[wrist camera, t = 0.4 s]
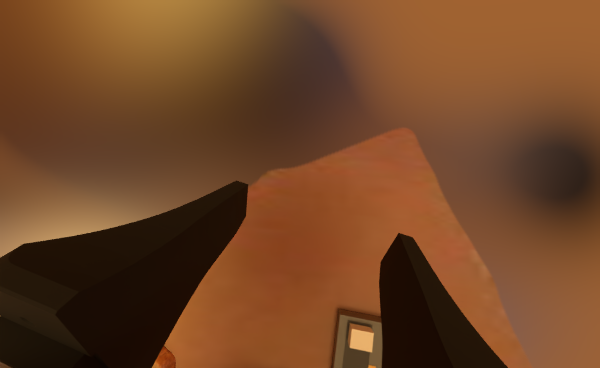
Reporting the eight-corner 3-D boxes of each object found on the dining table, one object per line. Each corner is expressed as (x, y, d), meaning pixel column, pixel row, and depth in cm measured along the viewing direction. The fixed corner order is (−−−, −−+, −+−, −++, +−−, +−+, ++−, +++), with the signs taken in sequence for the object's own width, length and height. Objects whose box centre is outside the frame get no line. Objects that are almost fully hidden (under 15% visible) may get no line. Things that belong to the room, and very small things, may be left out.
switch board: (418, 391, 34) (426, 404, 31) (330, 371, 35) (332, 382, 33) (422, 325, 36) (430, 332, 33) (338, 308, 37) (340, 314, 34)
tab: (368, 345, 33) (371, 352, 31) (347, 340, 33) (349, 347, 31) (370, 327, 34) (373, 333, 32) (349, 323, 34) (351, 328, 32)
